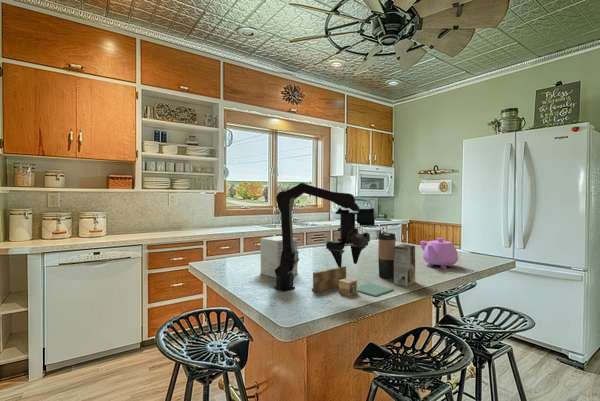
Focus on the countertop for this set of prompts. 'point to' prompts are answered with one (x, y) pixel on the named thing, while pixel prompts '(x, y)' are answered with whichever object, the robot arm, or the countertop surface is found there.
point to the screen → (328, 278)
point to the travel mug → (386, 255)
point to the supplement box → (273, 254)
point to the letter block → (347, 286)
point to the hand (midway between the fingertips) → (347, 265)
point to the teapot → (439, 253)
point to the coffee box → (404, 264)
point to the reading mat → (373, 289)
